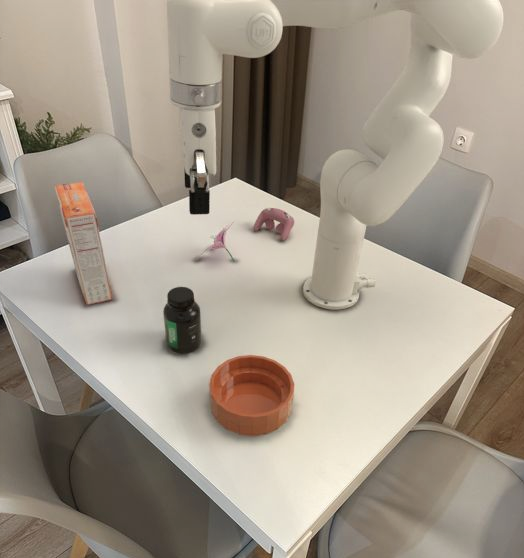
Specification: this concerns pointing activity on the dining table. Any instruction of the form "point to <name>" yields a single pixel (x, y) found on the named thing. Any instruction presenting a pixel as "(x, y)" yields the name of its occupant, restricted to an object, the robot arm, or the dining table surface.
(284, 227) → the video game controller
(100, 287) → the cracker box
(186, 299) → the supplement bottle
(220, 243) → the lily
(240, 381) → the bowl
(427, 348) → the dining table surface
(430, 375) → the dining table surface
